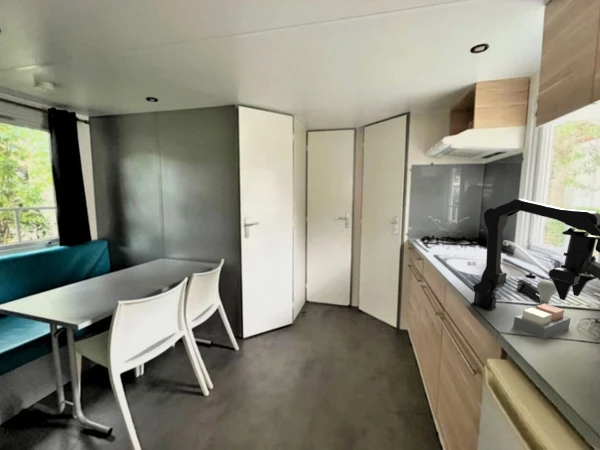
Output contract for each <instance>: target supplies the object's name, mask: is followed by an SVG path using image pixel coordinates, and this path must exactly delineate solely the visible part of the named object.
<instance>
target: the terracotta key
mask: <svg viewBox="0 0 600 450" xmlns="http://www.w3.org/2000/svg"><path fill="white" fill-rule="evenodd" d="M535 309H538V310H541V311H544V312H546V313H549V314H552V317H551V319H553V320H555V321H556V320H559V319H561V318H563V316H564V315H565V309H563V308H559V307H556V306H554V305H550V304H549V303H548V304H545V303H544V304H538V305H536V307H535Z"/></svg>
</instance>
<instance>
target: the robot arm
mask: <svg viewBox="0 0 600 450" xmlns="http://www.w3.org/2000/svg"><path fill="white" fill-rule="evenodd" d="M520 211H521V212H525V213H529V214H532V215H537V216H540V217H543V218H544V217H545V218H548V219H552V220H557V221H559V222H561V223H563V224H564V225H566V226H569V228H568V229H567V230H563V232H562V233H561V234H562V235H565V236H569V241H568V246H567V249H566V251H564V252H563V256H565V259H564V263H563V264H561V265H560V267H555V268H552V269H550V270H549V271H548V272H549V273H548V277H549V278H550V280H552V282H553V283H554V285H555V287H556V290H557V291H556V292H557V294H558V297H559V300H562V301H565V300H566V298H567V297H568V294H569V292H570V290H571V289H572V290H571V291H572V292H573V294H572V295H573V296H576V297H580V294H581V293H582V291H583V290H584V288H585V287H586V286H587V284H588V283H589V282H590V281H593V280H596V279H598V280H599V281H600V263H599V262H597V261H596V259H597V258H596V255H593V254H594V251H596V252H597V253H600V213H599V212H596V211H593V210H582V209H580V210H579V209H566V208H561V207H557V206H553V205H547V204H543V203H539V202H535V201H532V200H531V201H530V200H526V199H524V198H514V199H512V200H511V201H509V202H507V203H504V204H501V205H499V206H496V207H492V208H488V209H486V210H485V211H484V213H483V222H484V226H485V228H486V230H487V243H486V261H485V268H484V270H483V272H482V274H481V277H480V281H479V282H478V283H476V284H474V285H473V286H472V288H473V291H474V297H473V298H474V299H473V301H471V302H470V303H471V305H473V306H475V307H478V308H480V309H482V310H485V311H489V310H493V309H496V308H497V297H496V295H497V292H499V289H501V288H503V287H505V284H507V276H508V274H507V273H508V272H503V270H502V267H501V266H502V264H501V261H502V246H503V245H502V244H503V232H504V229H505V228H506V225H507V223H508V218H509V217H512V216H513V215H515V214H518V212H520Z"/></svg>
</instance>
